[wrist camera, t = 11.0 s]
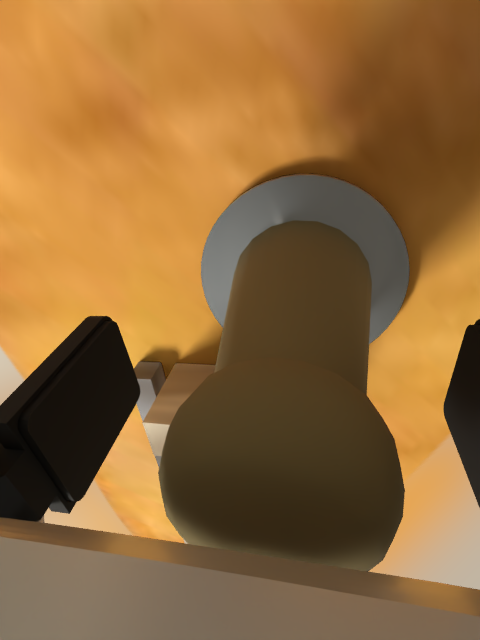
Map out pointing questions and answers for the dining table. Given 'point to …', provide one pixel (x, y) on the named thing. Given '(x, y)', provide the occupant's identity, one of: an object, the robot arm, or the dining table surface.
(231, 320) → the pepper mill
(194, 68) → the dining table surface
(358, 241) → the coaster
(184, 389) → the grey and cream frame
